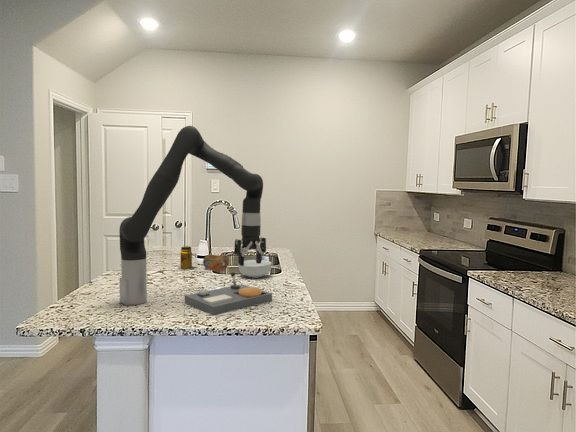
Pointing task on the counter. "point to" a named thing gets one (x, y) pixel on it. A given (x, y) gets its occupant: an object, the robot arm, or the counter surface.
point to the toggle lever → (233, 278)
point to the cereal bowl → (255, 268)
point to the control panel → (229, 305)
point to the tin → (215, 262)
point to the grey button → (203, 292)
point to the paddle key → (217, 299)
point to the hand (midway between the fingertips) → (250, 264)
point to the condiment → (186, 258)
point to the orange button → (250, 292)
